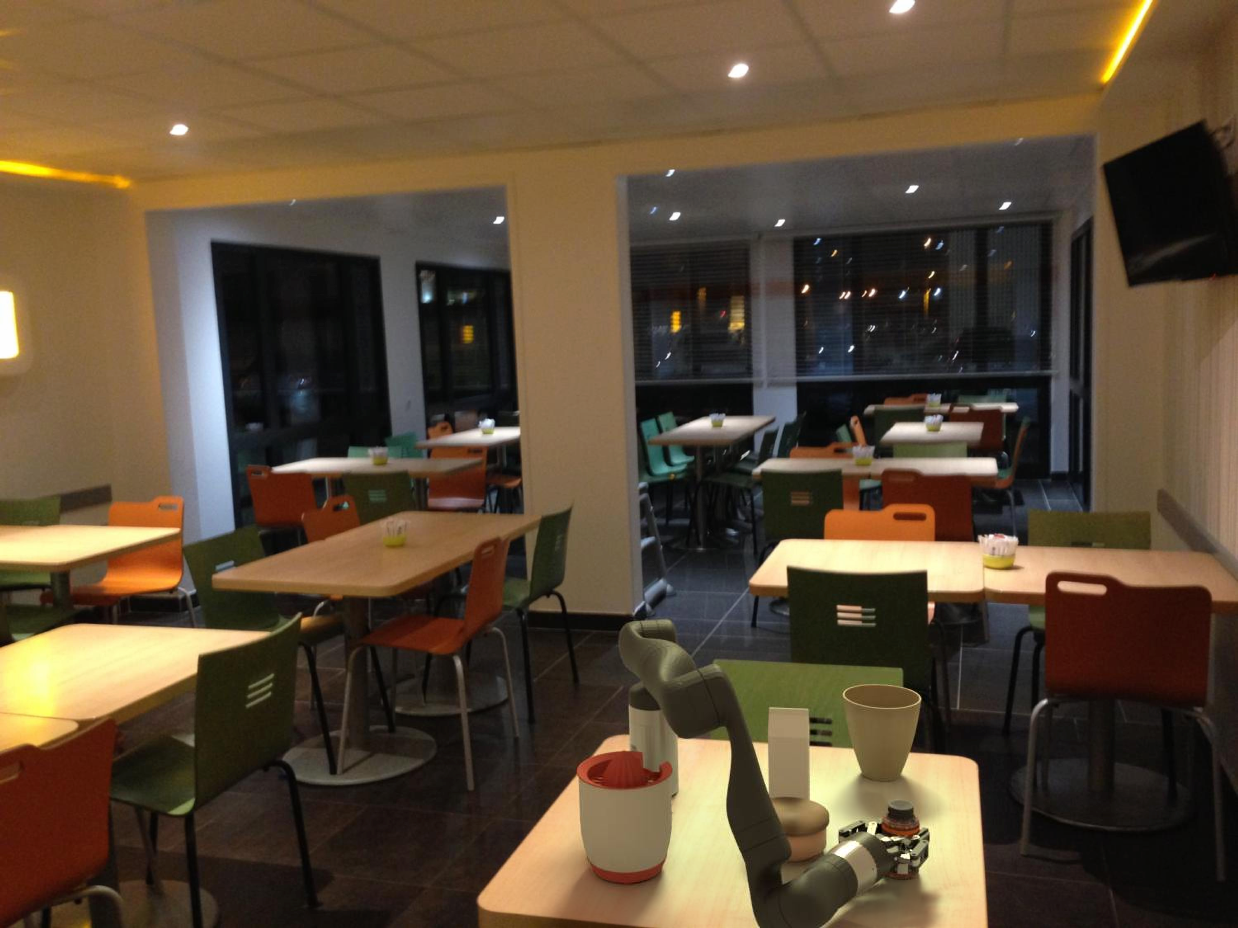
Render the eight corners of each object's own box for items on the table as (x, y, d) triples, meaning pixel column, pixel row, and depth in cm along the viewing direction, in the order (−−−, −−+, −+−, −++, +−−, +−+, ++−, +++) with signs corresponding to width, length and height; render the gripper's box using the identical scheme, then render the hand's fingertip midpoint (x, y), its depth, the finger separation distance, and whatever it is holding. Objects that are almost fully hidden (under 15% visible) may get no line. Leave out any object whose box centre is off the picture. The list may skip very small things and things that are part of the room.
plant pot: (909, 794, 201) (909, 712, 200) (833, 780, 209) (832, 701, 207) (929, 766, 214) (929, 689, 212) (856, 754, 222) (856, 679, 220)
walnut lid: (757, 837, 174) (757, 831, 173) (745, 803, 186) (745, 798, 186) (837, 834, 174) (837, 828, 174) (819, 800, 187) (819, 795, 187)
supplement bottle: (913, 884, 168) (913, 815, 167) (876, 875, 171) (876, 807, 170) (924, 868, 173) (924, 800, 172) (888, 859, 176) (888, 793, 175)
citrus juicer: (701, 861, 178) (699, 745, 175) (628, 902, 165) (624, 777, 163) (633, 833, 189) (630, 723, 186) (560, 869, 176) (555, 752, 174)
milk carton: (808, 818, 193) (808, 715, 191) (768, 815, 194) (767, 714, 192) (809, 801, 200) (809, 702, 198) (771, 799, 201) (770, 701, 199)
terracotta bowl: (760, 868, 175) (760, 836, 174) (749, 835, 187) (748, 804, 186) (834, 865, 175) (833, 833, 174) (817, 832, 187) (817, 802, 186)
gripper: (896, 856, 156) (949, 817, 168) (812, 828, 166) (868, 793, 178) (896, 905, 157) (949, 863, 169) (812, 874, 167) (868, 836, 179)
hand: (907, 827), depth 173 cm, fingers closed on supplement bottle, 6 cm apart
